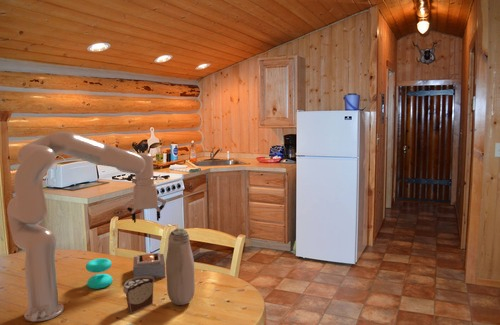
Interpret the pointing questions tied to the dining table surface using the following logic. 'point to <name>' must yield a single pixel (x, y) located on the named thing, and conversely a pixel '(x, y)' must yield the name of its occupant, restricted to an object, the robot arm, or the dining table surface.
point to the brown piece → (139, 292)
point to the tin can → (148, 257)
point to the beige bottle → (180, 268)
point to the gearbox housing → (149, 266)
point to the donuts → (99, 279)
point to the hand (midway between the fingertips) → (146, 221)
